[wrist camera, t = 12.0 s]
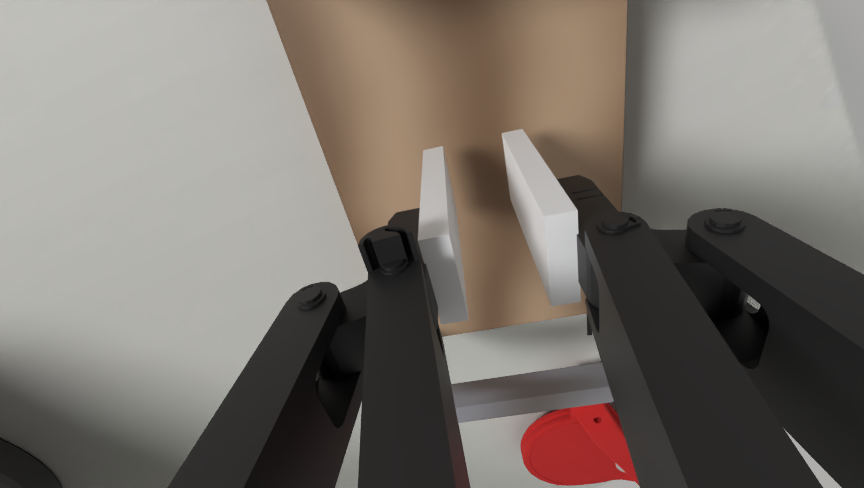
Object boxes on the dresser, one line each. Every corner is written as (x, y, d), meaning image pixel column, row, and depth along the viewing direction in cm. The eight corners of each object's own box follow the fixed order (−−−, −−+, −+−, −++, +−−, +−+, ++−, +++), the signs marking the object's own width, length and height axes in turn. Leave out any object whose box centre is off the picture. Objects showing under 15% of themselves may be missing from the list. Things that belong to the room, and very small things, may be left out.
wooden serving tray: (398, 313, 24) (385, 437, 18) (262, -75, 15) (114, -137, 8) (601, 279, 23) (672, 398, 16) (601, -175, 13) (779, -354, 6)
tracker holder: (498, 451, 32) (614, 470, 33) (506, 512, 28) (637, 530, 29) (557, 340, 26) (697, 368, 27) (579, 397, 22) (740, 427, 23)
